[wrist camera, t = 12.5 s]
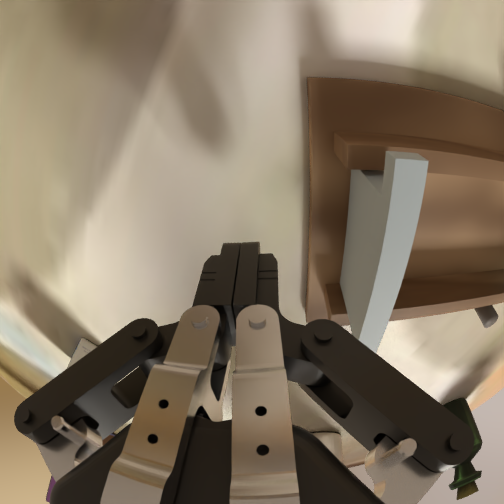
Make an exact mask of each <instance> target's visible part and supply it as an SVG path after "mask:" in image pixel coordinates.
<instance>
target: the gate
mask: <svg viewBox="0 0 504 504" xmlns="http://www.w3.org/2000/svg"><path fill="white" fill-rule="evenodd" d="M428 162H429V161H428V160H426V159H425V158H424V157H422V156H421V155H419V154H418V153H409V152H396V151H386V156H385V167H384V170H351V180H350V194H349V207H348V218H347V228H346V238H345V247H344V255H343V263H342V270H341V277H340V286H341V290H342V294H343V298H344V302H345V305H346V310H347V314H348V318H349V322H350V326H351V330H352V335H353V336H354V337H355V338H357V339H358V340H359V341H360V342H362V343H363V344H364V345H366V346H367V347H368V348H369V349H371V350H372V351H373V352H375V353H376V352H377V349H378V347H379V344H380V342H381V339H382V337H383V334H384V332H385V329H386V327H387V324H388V321H389V319H390V316H391V313H392V310H393V308H394V305H395V302H396V299H397V296H398V293H399V290H400V287H401V283H402V280H403V277H404V274H405V270H406V267H407V263H408V260H409V256H410V252H411V248H412V245H413V241H414V236H415V232H416V228H417V224H418V219H419V214H420V210H421V205H422V199H423V194H424V188H425V182H426V176H427V169H428Z"/></svg>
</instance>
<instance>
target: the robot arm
mask: <svg viewBox="0 0 504 504" xmlns="http://www.w3.org/2000/svg"><path fill="white" fill-rule="evenodd" d="M232 346H236V367H235V371H234V372H233V379H232V419H231V420H226V421H222V420H223V412H222V406H223V400H224V395H225V390H226V385H227V380H228V375H229V370H230V366H231V359H230V357H231V349H232ZM138 366H139V367H138ZM137 367H138V368H137ZM135 368H137V369H135ZM134 369H135V370H134ZM133 370H134V371H133ZM132 371H133V372H132ZM130 372H131V373H130ZM129 373H130V374H129ZM128 374H129V375H128ZM126 375H128V376H126ZM125 376H126V377H125ZM124 377H125V378H124ZM122 378H124V379H122ZM121 379H122V380H121ZM120 380H121V381H120ZM287 380H289V381H293V382H297V383H298V384H299V386H300V387H301V388H302V389H303V390H304V391H305V392H306V393H307V394H308V395H309V396H310V397H311V398H312V399H313V400H314V401H315V402H316V403H317V404H318V405H319V406H320V407H321V408H323V409H324V410H325V411H326V412H327V413H328V414H329V415H330V416H331V417H332V418H333V419H334V420H335V421H336V422H337V423H339V424H340V425H341V426H342V427H343V428H344V429H345V430H346V431H347V432H348V433H349V434H351V435H352V436H353V437H354V438H355V439H356V440H357V441H358V442H359V443H361V444H362V445H363V446H364V447H365V448H366V449H367V450H369V453H368V454H367V456H366V459H365V469H366V471H367V473H368V475H369V476H370V477H371V478H372V480H373V483H374V493H373V492H372V491H371V490H370V489H368V487H366V486H365V485H364V484H363V483H362V482H361V481H360V480H359V479H358V478H357V477H356V476H355V475H354V474H353V473H352V472H351V471H350V470H349V469H348V468H347V467H346V466H345V465H344V464H343V452H342V441H341V435H340V434H337V433H329V432H322V433H310V432H308V431H307V430H305V429H303V428H300V427H298V426H295V425H292V422H291V412H290V402H289V393H288V384H287ZM118 381H120V382H118ZM117 382H118V383H117ZM116 383H117V384H116ZM132 417H134V418H133V421H132V423H131V424H129V425H128V426H126V427H125V428H124V429H123V430H121V431H120V432H119V433H118V434H116V435H115V436H114V437H113V438H112V439H110V440H109V441H108V442H107V443H105V444H104V445H102V440H104V439H105V438H106V437H108V436H109V435H110V434H112V433H113V432H114V431H116V430H117V429H118V428H119V427H121V426H122V425H123V424H125V423H126V422H127V421H129V420H130V419H131V418H132ZM14 422H15V426H16V428H17V429H18V431H19V432H21V433H22V434H24V435H25V436H27V437H28V438H30V439H31V440H33V441H34V442H35V443H36V444H37V446H38V448H39V450H40V452H41V454H42V456H43V458H44V460H45V462H46V465H47V466H48V468H49V470H50V472H51V474H52V476H53V478H54V480H55V481H56V483H55V484H54V486H53V488H52V490H51V493H50V504H417V503H418V502H419V501H420V500H421V499H422V497H423V496H424V495H425V494H426V493H427V492H428V490H429V489H430V488H431V487H432V485H433V484H434V483H435V482H436V480H437V479H438V478H439V477H440V475H441V474H442V473H443V472H444V471H446V470H448V469H450V468H452V467H454V466H456V465H458V464H460V463H462V462H464V461H465V460H466V459H467V458H468V457H469V456H470V454H471V452H472V450H473V447H474V435H473V432H472V430H471V428H470V427H469V426H468V425H467V424H466V423H464V422H463V421H462V420H461V419H459V418H458V417H457V416H455V415H454V414H453V413H452V412H450V411H449V410H448V409H446V408H445V407H444V406H443V405H441V404H440V403H439V402H437V401H436V400H435V399H434V398H432V397H431V396H430V395H428V394H427V393H426V392H425V391H423V390H422V389H421V388H419V387H418V386H417V385H416V384H414V383H413V382H412V381H410V380H409V379H408V378H407V377H405V376H404V375H403V374H401V373H400V372H399V371H398V370H396V369H395V368H394V367H392V366H391V365H390V364H389V363H387V362H386V361H385V360H383V359H382V358H381V357H380V356H378V355H377V354H376V353H375V352H373V351H372V350H371V349H369V348H368V347H367V346H366V345H364V344H363V343H362V342H360V341H359V340H358V339H357V338H355V337H354V336H353V335H352V334H350V333H349V332H348V331H346V330H345V329H344V328H343V327H341V326H340V325H339V324H337V323H336V322H334V321H331V320H328V319H317V320H314V321H311V322H309V323H308V324H307V325H306V326H304V325H300V324H296V323H292V322H290V321H288V320H287V319H285V318H284V317H283V316H282V315H281V313H280V311H279V302H278V265H277V260H276V258H275V257H274V256H273V254H260V243H259V242H243V243H242V244H241V243H223V246H222V250H221V254H220V255H214V256H211V257H210V258H209V259H208V260H207V261H206V262H205V263H204V267H203V270H202V274H201V277H200V281H199V284H198V288H197V291H196V295H195V299H194V302H193V306H192V307H191V308H190V309H188V310H187V311H185V312H184V313H183V315H182V316H181V318H180V321H178V322H176V323H173V324H169V325H164V326H160V327H158V326H157V324H156V323H155V322H154V321H153V320H151V319H147V318H141V319H137V320H134V321H132V322H131V323H129V324H128V325H127V326H125V327H124V328H122V329H121V330H120V331H118V332H117V333H115V334H114V335H113V336H111V337H110V338H109V339H107V340H106V341H104V342H103V343H102V344H100V345H99V346H98V347H96V348H95V349H93V350H92V351H91V352H89V353H88V354H87V355H85V356H84V357H83V358H81V359H80V360H78V361H77V362H76V363H74V364H73V365H72V366H70V367H69V368H68V369H66V370H65V371H63V372H62V373H61V374H59V375H58V376H57V377H55V378H54V379H53V380H51V381H50V382H49V383H47V384H46V385H45V386H43V387H42V388H41V389H39V390H38V391H37V392H35V393H34V394H33V395H31V396H30V397H29V398H27V399H26V400H25V401H23V402H22V403H21V404H20V405H19V406H18V407H17V410H16V412H15V416H14Z"/></svg>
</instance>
